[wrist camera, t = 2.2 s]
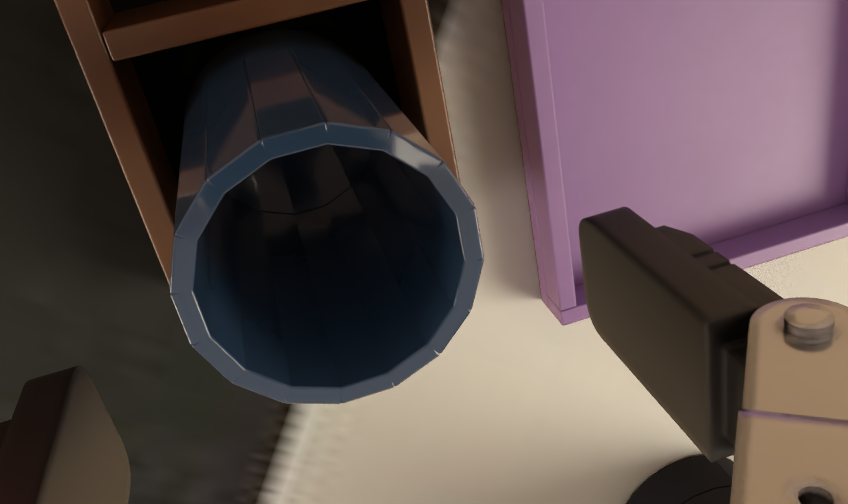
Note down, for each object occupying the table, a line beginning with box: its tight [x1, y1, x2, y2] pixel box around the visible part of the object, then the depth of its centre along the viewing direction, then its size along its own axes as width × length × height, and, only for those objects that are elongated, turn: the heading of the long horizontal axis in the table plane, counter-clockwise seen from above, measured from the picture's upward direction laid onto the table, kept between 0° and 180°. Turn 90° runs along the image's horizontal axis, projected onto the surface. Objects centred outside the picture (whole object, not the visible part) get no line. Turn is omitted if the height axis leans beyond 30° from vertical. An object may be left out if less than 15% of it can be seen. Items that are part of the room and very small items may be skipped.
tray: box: [502, 0, 848, 325], centre depth 24 cm, size 14×12×2 cm
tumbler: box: [169, 29, 484, 404], centre depth 18 cm, size 6×6×10 cm
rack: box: [54, 0, 460, 287], centre depth 19 cm, size 16×8×3 cm, turn 11°
